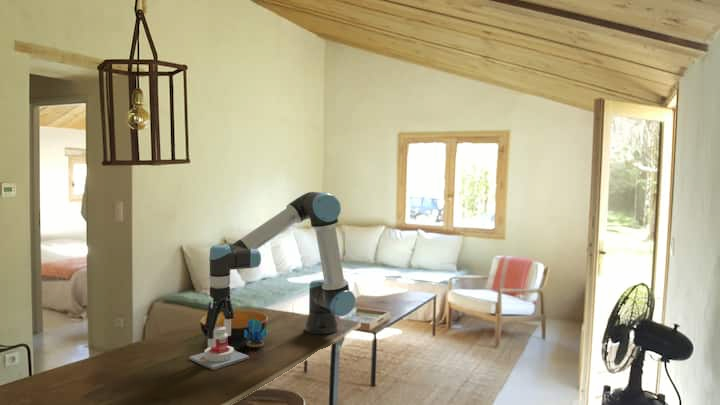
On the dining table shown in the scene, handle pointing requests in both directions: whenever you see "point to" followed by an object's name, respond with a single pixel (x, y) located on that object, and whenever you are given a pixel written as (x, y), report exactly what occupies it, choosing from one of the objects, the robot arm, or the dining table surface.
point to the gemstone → (255, 333)
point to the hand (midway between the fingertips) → (219, 340)
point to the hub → (218, 358)
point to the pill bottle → (220, 340)
